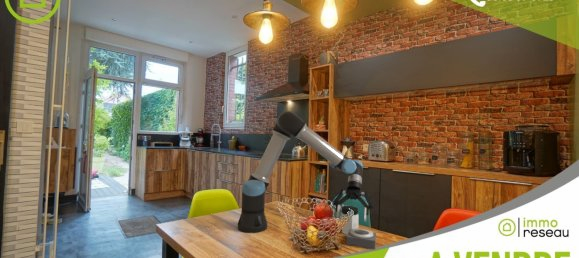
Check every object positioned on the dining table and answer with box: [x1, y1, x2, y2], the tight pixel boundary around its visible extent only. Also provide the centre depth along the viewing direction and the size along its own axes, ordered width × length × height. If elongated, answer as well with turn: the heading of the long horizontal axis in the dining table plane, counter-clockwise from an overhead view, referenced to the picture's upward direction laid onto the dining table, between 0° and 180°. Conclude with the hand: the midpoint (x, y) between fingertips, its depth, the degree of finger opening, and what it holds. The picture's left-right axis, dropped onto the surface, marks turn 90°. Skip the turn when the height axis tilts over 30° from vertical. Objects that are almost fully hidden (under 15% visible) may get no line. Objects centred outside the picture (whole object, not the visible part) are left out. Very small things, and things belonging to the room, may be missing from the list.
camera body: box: [345, 228, 377, 250], centre depth 122 cm, size 12×11×4 cm
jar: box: [340, 205, 360, 235], centre depth 135 cm, size 9×8×12 cm
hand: (351, 218), depth 136 cm, fingers open, 13 cm apart
